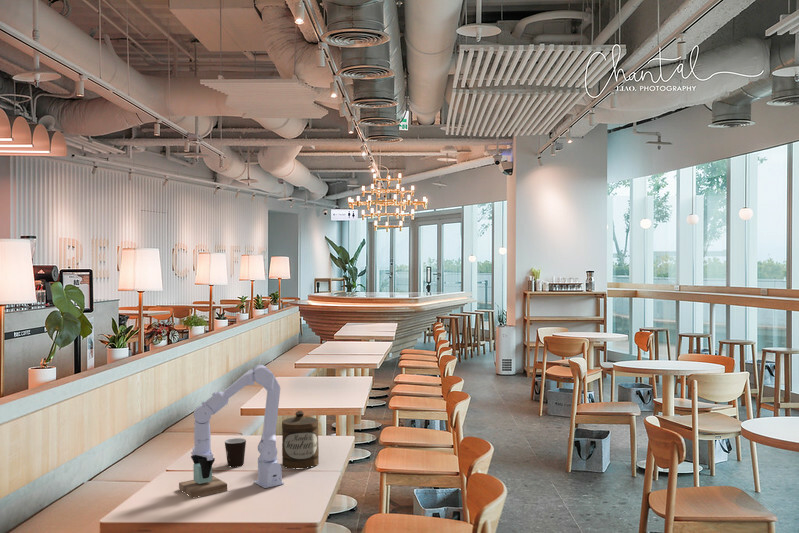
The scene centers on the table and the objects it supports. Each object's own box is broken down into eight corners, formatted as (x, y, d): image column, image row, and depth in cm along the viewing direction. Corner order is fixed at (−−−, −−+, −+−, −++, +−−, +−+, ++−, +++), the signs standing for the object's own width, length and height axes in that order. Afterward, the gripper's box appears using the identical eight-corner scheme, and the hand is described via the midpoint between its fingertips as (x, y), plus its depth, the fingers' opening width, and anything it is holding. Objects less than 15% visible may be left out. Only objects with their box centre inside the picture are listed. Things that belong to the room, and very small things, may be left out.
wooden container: (284, 471, 269) (283, 415, 270) (280, 461, 284) (280, 408, 284) (321, 467, 273) (320, 413, 274) (315, 458, 288) (315, 406, 288)
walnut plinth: (227, 490, 246) (227, 483, 246) (192, 498, 238) (192, 491, 238) (213, 482, 256) (213, 475, 256) (179, 489, 248) (179, 482, 248)
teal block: (212, 481, 246) (212, 464, 246) (198, 483, 243) (198, 467, 243) (206, 478, 250) (206, 461, 250) (193, 480, 247) (193, 464, 247)
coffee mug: (243, 467, 275) (243, 443, 275) (222, 468, 275) (222, 443, 275) (250, 460, 286) (250, 436, 286) (230, 460, 286) (229, 436, 286)
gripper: (184, 437, 250) (184, 473, 250) (199, 444, 239) (199, 483, 239) (202, 434, 255) (203, 470, 254) (218, 441, 243) (218, 479, 243)
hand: (202, 476), depth 247 cm, fingers closed on teal block, 5 cm apart
